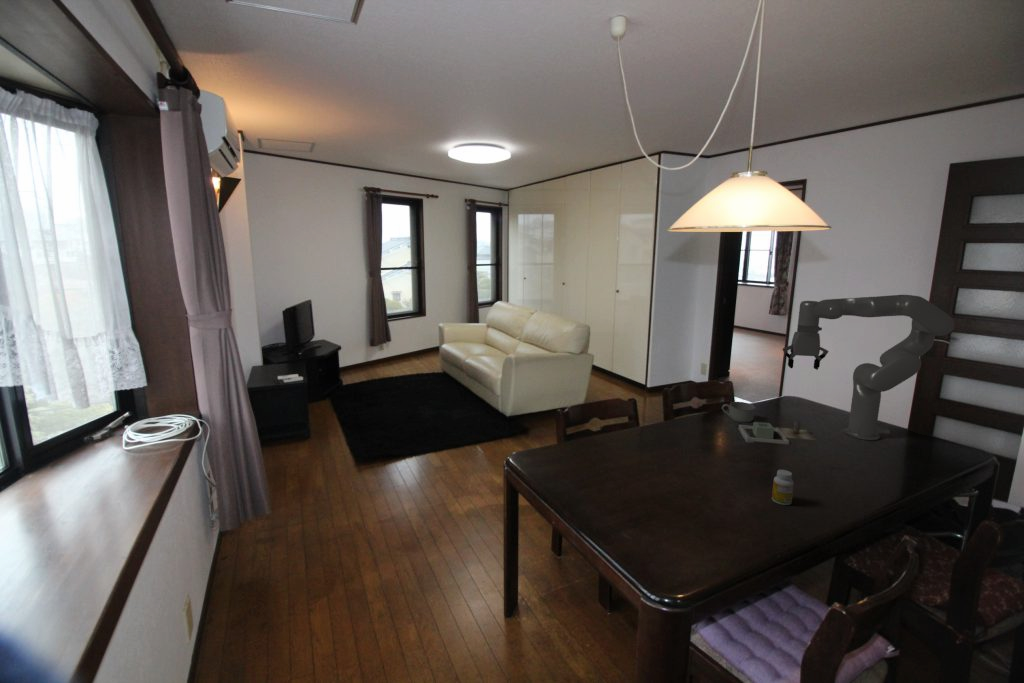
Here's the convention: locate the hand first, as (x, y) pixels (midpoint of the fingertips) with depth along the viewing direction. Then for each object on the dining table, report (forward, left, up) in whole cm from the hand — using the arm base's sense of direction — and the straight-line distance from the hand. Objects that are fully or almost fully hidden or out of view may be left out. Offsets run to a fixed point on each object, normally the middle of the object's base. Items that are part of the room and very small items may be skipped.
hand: (803, 368), depth 197 cm
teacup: (+23, -6, -29) cm, 37 cm away
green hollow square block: (+17, +14, -28) cm, 35 cm away
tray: (+17, +14, -28) cm, 36 cm away
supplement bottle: (+25, +70, -28) cm, 80 cm away
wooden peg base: (+2, +8, -28) cm, 30 cm away
